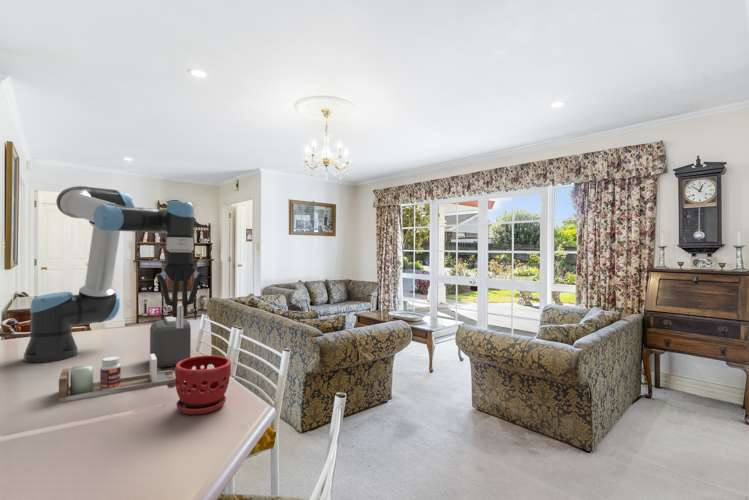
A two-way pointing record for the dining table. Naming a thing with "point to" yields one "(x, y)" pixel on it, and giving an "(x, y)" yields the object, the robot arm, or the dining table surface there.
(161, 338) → the alarm clock
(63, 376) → the tray
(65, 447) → the dining table surface
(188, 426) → the dining table surface
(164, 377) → the paddle
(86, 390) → the pale green rounded block
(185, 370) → the plant pot
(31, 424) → the dining table surface
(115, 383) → the pill bottle
